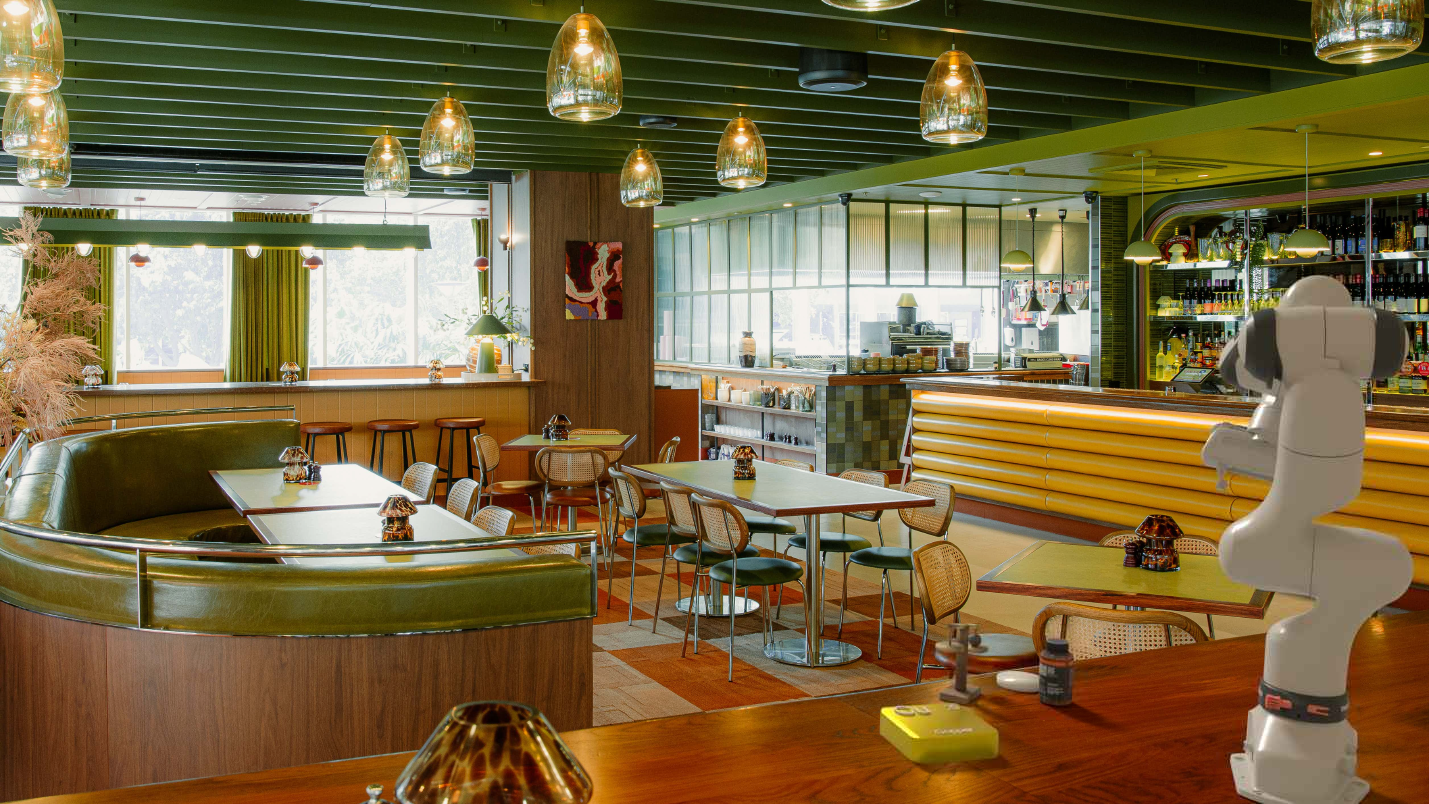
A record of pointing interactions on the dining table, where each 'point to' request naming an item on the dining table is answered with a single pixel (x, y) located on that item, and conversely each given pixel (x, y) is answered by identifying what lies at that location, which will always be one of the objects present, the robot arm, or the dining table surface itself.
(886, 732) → the element tile
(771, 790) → the dining table surface
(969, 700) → the balance
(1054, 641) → the supplement bottle
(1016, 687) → the dish
